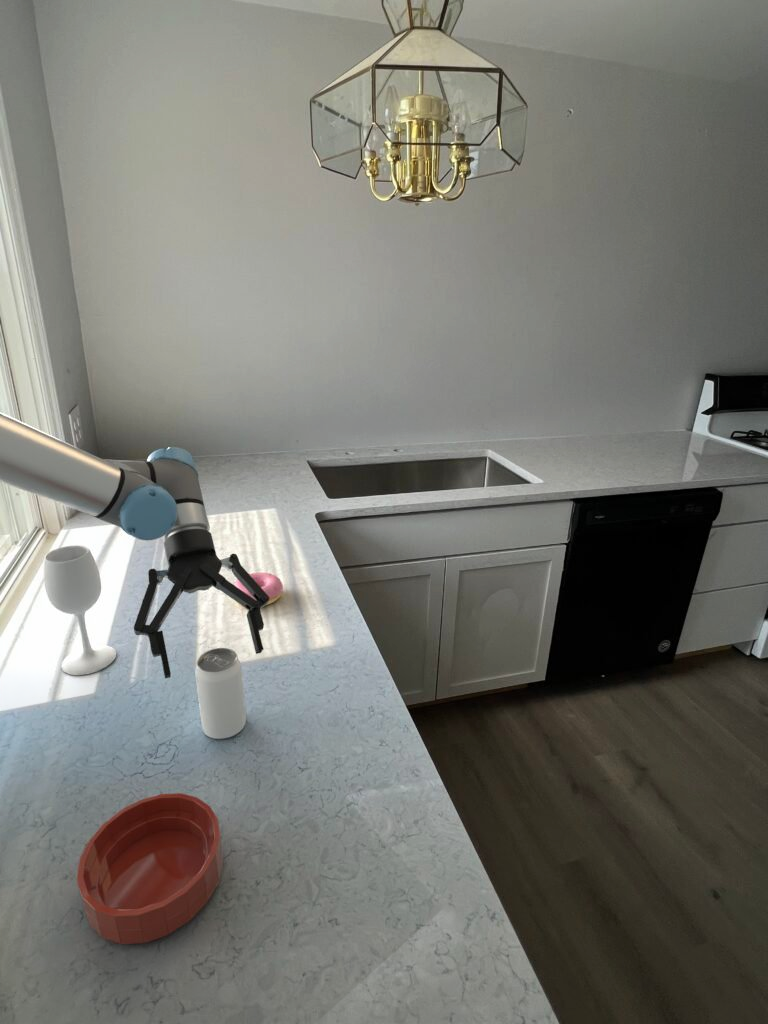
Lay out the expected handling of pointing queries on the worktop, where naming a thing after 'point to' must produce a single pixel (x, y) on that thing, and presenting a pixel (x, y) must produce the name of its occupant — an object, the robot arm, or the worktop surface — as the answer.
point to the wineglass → (76, 602)
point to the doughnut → (264, 585)
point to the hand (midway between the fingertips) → (215, 663)
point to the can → (220, 693)
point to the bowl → (150, 868)
